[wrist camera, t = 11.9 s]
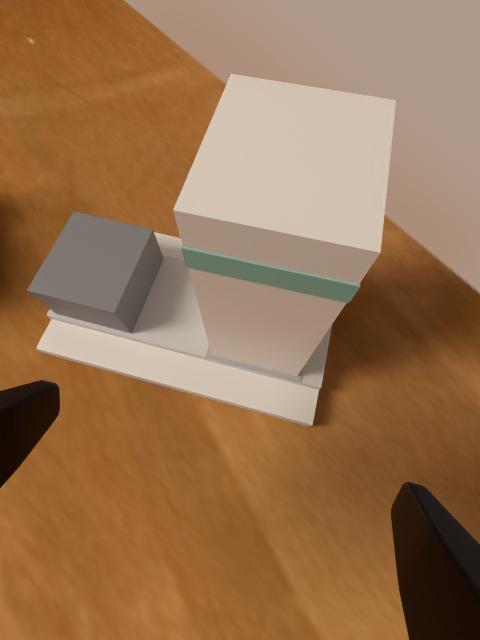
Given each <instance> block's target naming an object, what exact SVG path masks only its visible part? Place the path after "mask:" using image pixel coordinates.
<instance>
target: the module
mask: <svg viewBox="0 0 480 640" xmlns="http://www.w3.org/2000/svg"><path fill="white" fill-rule="evenodd" d="M395 105H396V100H391V99H384V98H378V97H372V96H366V95H360V94H352V93H347V92H341V91H335V90H328V89H322V88H316V87H310V86H302V85H297V84H291V83H284V82H278V81H272V80H266V79H259V78H253V77H247V76H241V75H234V74H231V76H230V78H229V80H228V82H227V85H226V87H225V90H224V92H223V94H222V97H221V99H220V101H219V104H218V106H217V108H216V111H215V113H214V115H213V118H212V120H211V122H210V125H209V127H208V129H207V132H206V134H205V137H204V139H203V141H202V144H201V146H200V148H199V151H198V153H197V155H196V158H195V160H194V162H193V165H192V167H191V169H190V172H189V174H188V176H187V179H186V181H185V184H184V186H183V188H182V191H181V193H180V195H179V198H178V200H177V202H176V205H175V207H174V209H173V211H174V215H175V219H176V223H177V227H178V230H179V234H180V238H181V242H182V246H181V251H182V254H183V258H184V262H185V265H186V267H188V268H189V272H190V276H191V279H192V283H193V287H194V291H195V294H196V298H197V302H198V306H199V309H200V313H201V317H202V321H203V325H204V328H205V332H206V336H207V340H208V343H209V347H210V351H211V355H212V356H216V357H220V358H224V359H228V360H232V361H236V362H240V363H244V364H248V365H252V366H256V367H260V368H264V369H268V370H272V371H276V372H280V373H284V374H288V375H293V376H298V374H299V373H300V371H301V370H302V368H303V367H304V365H305V364H306V362H307V361H308V359H309V358H310V356H311V355H312V353H313V352H314V350H315V349H316V347H317V346H318V344H319V343H320V341H321V340H322V338H323V337H324V336H325V334H326V333H327V331H328V330H329V328H330V327H331V325H332V324H333V322H334V321H335V319H336V318H337V316H338V315H339V313H340V312H341V310H342V309H343V307H344V306H345V304H346V303H349V302H350V301H351V300H352V298H353V297H354V295H355V294H356V292H357V291H358V289H359V288H360V285H361V281H362V279H363V278H364V276H365V275H366V273H367V272H368V270H369V269H370V267H371V266H372V264H373V263H374V261H375V260H376V258H377V257H378V255H379V254H380V252H381V242H382V232H383V222H384V213H385V203H386V192H387V183H388V173H389V164H390V154H391V143H392V134H393V124H394V114H395Z"/></svg>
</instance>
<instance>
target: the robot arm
mask: <svg viewBox="0 0 480 640" xmlns="http://www.w3.org/2000/svg"><path fill="white" fill-rule="evenodd" d="M59 411H60V392H59V386H58V384H56V383H53V382H50V381H46V380H40V381H36V382H32V383H29V384H25V385H21V386H17V387H14V388H10V389H6V390H3V391H0V488H1V487H2V486H3V484H4V483H5V482H6V481H7V480H8V479H9V478H10V477H11V476H12V474H13V473H14V472H15V471H16V470H17V469H18V468H19V466H20V465H21V464H22V463H23V461H24V460H25V459H26V458H27V456H28V455H29V454H30V452H31V451H32V450H33V448H34V447H35V446H36V444H37V443H38V442H39V440H40V439H41V438H42V436H43V435H44V434H45V433H46V431H47V430H48V429H49V427H50V426H51V425H52V423H53V422H54V421H55V419H56V418H57V416H58V414H59ZM391 520H392V530H393V539H394V549H395V558H396V568H397V577H398V584H399V591H400V596H401V602H402V606H403V611H404V616H405V621H406V626H407V631H408V636H409V640H480V544H479V543H478V542H477V541H476V540H475V539H474V538H473V537H472V536H471V535H470V534H469V533H468V532H467V531H466V530H465V529H464V528H463V527H462V525H461V524H460V523H459V522H458V521H457V520H456V519H455V518H454V517H453V516H452V515H451V514H450V513H449V512H448V511H447V510H446V509H445V508H444V507H443V505H442V504H441V503H440V502H439V501H438V500H437V499H436V498H435V497H434V496H433V495H432V494H431V493H430V492H429V491H428V490H427V489H426V488H425V487H424V486H421V485H418V484H414V483H411V482H405V483H404V484H403V485H402V487H401V489H400V491H399V493H398V495H397V497H396V499H395V501H394V503H393V505H392V509H391Z"/></svg>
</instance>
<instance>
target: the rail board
mask: <svg viewBox="0 0 480 640" xmlns="http://www.w3.org/2000/svg"><path fill="white" fill-rule="evenodd" d="M181 246H182V242H181V238H177V237H172V236H168V235H163V234H159V233H155V232H154V231H153V229H149V228H144V227H140V226H136V225H131V224H127V223H122V222H118V221H114V220H109V219H105V218H100V217H96V216H91V215H87V214H83V213H78V212H73V214H72V216H71V217H70V219H69V221H68V222H67V224H66V226H65V227H64V229H63V231H62V232H61V234H60V236H59V237H58V239H57V241H56V242H55V244H54V246H53V247H52V249H51V251H50V252H49V254H48V256H47V257H46V259H45V261H44V262H43V264H42V266H41V267H40V269H39V271H38V272H37V274H36V276H35V278H34V279H33V281H32V283H31V284H30V286H29V288H28V289H27V291H28V292H29V293H31V294H32V295H33V296H34V297H36V298H37V299H38V300H39V301H41V302H42V303H43V304H44V305H46V306H47V307H48V308H49V309H50V310H49V312H48V314H47V316H48V317H49V318H51V319H52V320H51V321H50V323H49V325H48V327H47V329H46V331H45V332H44V334H43V336H42V338H41V340H40V342H39V344H38V345H37V347H36V349H38V350H40V351H41V352H43V353H45V354H49V355H52V356H56V357H60V358H63V359H67V360H70V361H74V362H78V363H81V364H85V365H88V366H92V367H96V368H99V369H103V370H106V371H110V372H114V373H117V374H121V375H124V376H128V377H132V378H135V379H139V380H142V381H146V382H150V383H153V384H157V385H160V386H164V387H168V388H171V389H175V390H178V391H182V392H186V393H189V394H193V395H196V396H200V397H204V398H207V399H211V400H214V401H218V402H222V403H225V404H229V405H232V406H236V407H240V408H243V409H247V410H250V411H254V412H258V413H261V414H265V415H268V416H272V417H276V418H279V419H283V420H286V421H290V422H294V423H297V424H301V425H304V426H308V427H310V426H312V425H313V420H314V415H315V409H316V403H317V398H318V392H319V390H320V389H321V386H322V380H323V375H324V369H325V363H326V357H327V352H328V346H329V340H330V334H331V329H332V325H331V327H330V328H329V330H328V331H327V333H326V334H325V336H324V337H323V338H322V340H321V341H320V343H319V344H318V346H317V347H316V349H315V350H314V352H313V353H312V355H311V356H310V358H309V359H308V361H307V362H306V364H305V365H304V367H303V368H302V370H301V371H300V373H299V374H298V376H293V375H288V374H284V373H280V372H276V371H272V370H268V369H264V368H260V367H256V366H252V365H248V364H244V363H240V362H236V361H232V360H228V359H224V358H220V357H216V356H212V355H211V351H210V347H209V343H208V340H207V336H206V332H205V328H204V325H203V321H202V317H201V313H200V309H199V306H198V302H197V298H196V294H195V291H194V287H193V283H192V279H191V276H190V272H189V268H188V267H186V265H185V262H184V258H183V254H182V251H181Z"/></svg>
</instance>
